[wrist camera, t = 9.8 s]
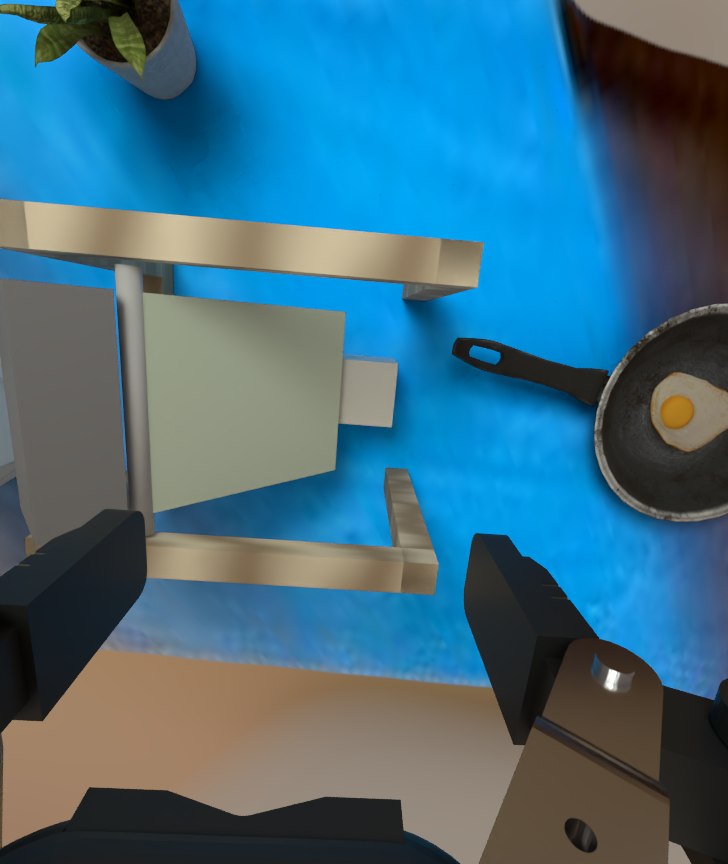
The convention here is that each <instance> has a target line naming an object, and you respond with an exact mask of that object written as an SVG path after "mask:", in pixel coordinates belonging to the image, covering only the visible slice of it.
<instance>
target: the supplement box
mask: <svg viewBox="0 0 728 864" xmlns="http://www.w3.org/2000/svg"><path fill="white" fill-rule="evenodd" d="M14 477H16V470H15V463H14V455H13V448H12V440H11V433H10V426H9V418H8V411H7V403H6V396H5V388H4V381H3V373H2V366H1V358H0V486H1V485H3V484H5V483H7V482H8V481H10V480H11V479H13V478H14Z"/></svg>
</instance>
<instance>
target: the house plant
mask: <svg viewBox="0 0 728 864" xmlns="http://www.w3.org/2000/svg"><path fill="white" fill-rule="evenodd" d="M55 6H56V7H51V6H33V5H21V4H3V5H0V13H1V14H11V15H17V16H20V17H22V18H25V19H27V20H31V21H34V22H37V23H42V24H47V25H46V26H44V27H43V28H41V30H40V32H39V34H38V36H37V40H36V46H35V67H36V65H37V64H38V63H39V62H50V61H53V60H55V59H57V58H59V57H61V56H62V55H63V54H65V53H66V52H67V51H68V50H69V49H71V48H72V47H73V46H74V45H75V44H77V45H78V46H79V47H80V48H81V49H82V50H83V51H85V52H86V53H87V54H88V55H89V56H90V57H92V58H93V59H95V60H96V61H98V62H99V63H101V64H102V65H104V66H105V67H107V68H108V69H110V70H111V71H113V72H114V73H116V74H117V75H119V76H120V77H122V78H123V79H125V80H127V81H128V82H130V83H131V84H133V85H134V86H136V87H137V88H139V89H140V90H142V91H143V92H145V93H146V94H148V95H150V96H152V97H154V98H159V99H164V100H165V99H173V98H175V97H177V96H178V95H180V94H181V93H182V92H183V91H184V90H186V89H187V88H188V86H189V85H190V84H191V83H192V81H193V79H194V76H195V72H196V54H195V49H194V46H193V43H192V40H191V37H190V34H189V31H188V28H187V25H186V22H185V19H184V16H183V13H182V10H181V7H180V4H179V1H178V0H56V4H55Z"/></svg>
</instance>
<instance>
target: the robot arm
mask: <svg viewBox="0 0 728 864" xmlns="http://www.w3.org/2000/svg"><path fill="white" fill-rule="evenodd" d="M146 578H147V553H146V535H145V520H144V516H143V514H142V512H141V511H136V510H120V509H104V510H102V511H101V512H100V513H98V514H97V515H96V516H94V517H93V518H92V519H91V520H89V521H88V522H87V523H85V524H84V525H83V526H81V527H80V528H76V529H74V530H72V531H69V532H67V533H65V534H62V535H60V536H58V537H55V538H53V539H52V540H50V541H49V542H48V543H46V544H45V545H43V546H42V547H41V548H39V549H38V550H37V551H35V554H31V555H30V556H28V557H27V558H26V559H24V560H23V561H21V562H20V563H19V566H15V567H13V568H12V569H10V570H9V571H8V572H6V573H5V574H4V575H2V576H1V577H0V864H460V863H459V862H458V861H456V860H455V859H454V858H453V857H452V856H450V855H449V854H448V853H446V852H444V851H443V850H442V849H440V848H439V847H437V846H436V845H434V844H432V843H430V842H429V841H427V840H424V839H423V838H421V837H419V836H417V835H415V834H412V833H409V832H406V831H404V830H403V821H402V810H401V800H392V799H366V798H342V797H341V798H340V797H323V798H319V799H315V800H311V801H307V802H303V803H299V804H294V805H291V806H287V807H283V808H278V809H274V810H270V811H266V812H262V813H258V814H254V815H249V816H237V815H233V814H231V813H228V812H225V811H222V810H220V809H217V808H214V807H211V806H209V805H206V804H203V803H200V802H197V801H195V800H192V799H189V798H186V797H183V796H181V795H178V794H175V793H173V792H169V791H165V790H142V789H116V788H91V787H90V788H89V789H88V790H87V792H86V794H85V796H84V797H83V799H82V801H81V803H80V805H79V806H78V808H77V810H76V811H75V813H74V815H73V817H72V818H71V820H68V821H64V822H61V823H58V824H55V825H52V826H49V827H46V828H43V829H40V830H38V831H36V832H33V833H31V834H29V835H27V836H24V837H22V838H20V839H18V840H16V841H14V842H12V843H10V844H8V845H6V846H4V847H3V848H2V802H3V798H2V797H3V741H2V735H1V732H2V731H3V730H4V729H5V728H6V727H7V725H8V724H9V723H10V722H11V721H12V720H27V721H43V720H44V719H45V717H46V716H47V715H48V713H49V712H50V711H51V710H52V708H53V707H54V706H55V705H56V703H57V702H58V701H59V699H60V698H61V697H62V695H63V694H64V693H65V692H66V690H67V689H68V688H69V687H70V685H71V684H72V683H73V681H74V680H75V679H76V678H77V676H78V675H79V673H80V672H81V671H82V670H83V668H84V667H85V666H86V665H87V663H88V662H89V661H90V659H91V658H92V657H93V655H94V654H95V653H96V652H97V651H98V649H99V648H100V647H101V645H102V644H103V643H104V642H105V640H106V639H107V638H108V636H109V635H110V634H111V633H112V631H113V630H114V629H115V627H116V626H117V625H118V624H119V622H120V621H121V620H122V618H123V617H124V616H125V615H126V613H127V612H128V611H129V609H130V608H131V607H132V606H133V604H134V603H135V602H136V600H137V599H138V598H139V596H140V595H141V593H142V591H143V589H144V586H145V582H146ZM464 609H465V614H466V617H467V620H468V623H469V626H470V628H471V631H472V634H473V636H474V639H475V642H476V644H477V647H478V650H479V653H480V655H481V658H482V661H483V663H484V666H485V669H486V671H487V674H488V677H489V680H490V682H491V685H492V688H493V690H494V693H495V695H496V698H497V701H498V703H499V707H500V709H501V712H502V715H503V717H504V720H505V723H506V725H507V728H508V731H509V733H510V736H511V739H512V741H513V744H514V745H525V747H524V749H523V752H522V754H521V757H520V759H519V762H518V764H517V767H516V770H515V772H514V775H513V777H512V780H511V783H510V785H509V788H508V790H507V793H506V795H505V798H504V800H503V803H502V805H501V808H500V810H499V814H498V816H497V818H496V821H495V823H494V826H493V828H492V831H491V833H490V836H489V839H488V841H487V844H486V846H485V849H484V851H483V854H482V857H481V859H480V862H479V864H668V846H669V844H668V843H669V841H671V842H673V843H676V844H679V845H681V846H682V848H683V849H684V851H685V853H686V855H687V856H688V858H689V860H690V862H691V864H728V679H725V680H723V681H722V682H721V683H720V686H719V689H718V691H717V694H716V697H715V700H711V699H708V698H704V697H701V696H697V695H694V694H690V693H687V692H683V691H680V690H676V689H673V688H669V687H666V686H663V685H662V682H661V680H660V678H659V677H658V675H657V674H656V672H655V671H654V670H653V669H652V668H651V667H650V666H649V665H648V664H647V663H646V662H645V661H644V660H642V659H641V658H640V657H638V656H637V655H636V654H634V653H633V652H631V651H629V650H627V649H626V648H624V647H621V646H619V645H617V644H614V643H612V642H609V641H606V640H602V639H599V637H598V636H597V635H596V633H595V632H594V631H593V629H592V628H591V627H590V625H589V624H588V623H587V622H586V620H585V619H584V618H583V616H582V615H581V614H580V612H579V611H578V610H577V608H576V607H575V606H574V604H573V603H572V602H571V601H570V600H568V599H567V595H566V594H565V593H564V591H563V590H562V589H561V587H558V583H557V582H556V581H555V580H554V578H553V577H552V576H551V574H550V573H549V572H548V570H547V569H545V568H544V567H543V566H541V565H540V564H538V563H537V562H536V561H534V560H533V559H531V558H530V557H522V555H521V554H520V552H519V551H518V550H517V548H516V547H515V545H514V544H513V542H512V541H511V540H510V538H509V537H508V536H507V535H496V534H480V533H476V534H475V535H474V537H473V539H472V543H471V549H470V556H469V562H468V568H467V574H466V581H465V587H464Z"/></svg>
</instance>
